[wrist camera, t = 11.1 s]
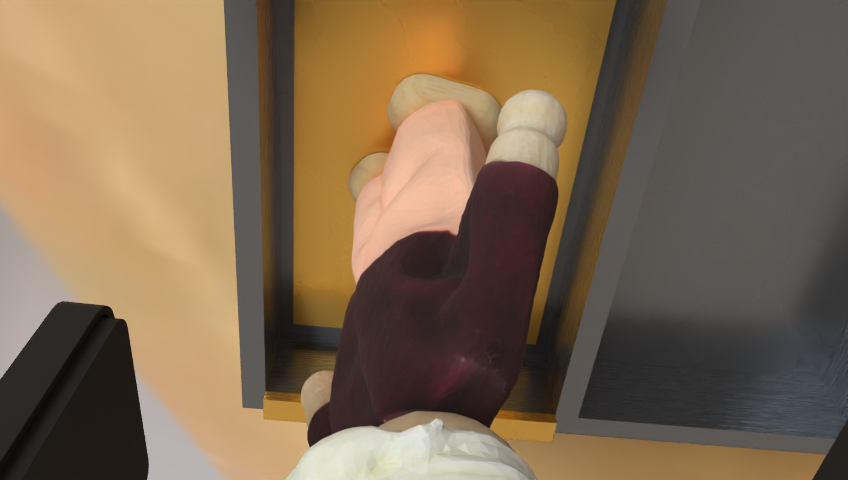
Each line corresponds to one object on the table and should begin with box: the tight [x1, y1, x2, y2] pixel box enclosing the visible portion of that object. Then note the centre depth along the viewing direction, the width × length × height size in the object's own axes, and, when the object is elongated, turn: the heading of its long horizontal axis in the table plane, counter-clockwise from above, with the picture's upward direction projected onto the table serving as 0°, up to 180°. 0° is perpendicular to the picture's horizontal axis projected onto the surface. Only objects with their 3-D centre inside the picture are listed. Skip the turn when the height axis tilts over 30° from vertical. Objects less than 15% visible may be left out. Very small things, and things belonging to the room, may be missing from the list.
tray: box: [224, 0, 848, 454], centre depth 17 cm, size 25×14×3 cm, turn 84°
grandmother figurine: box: [285, 74, 567, 480], centre depth 12 cm, size 8×4×13 cm, turn 161°
